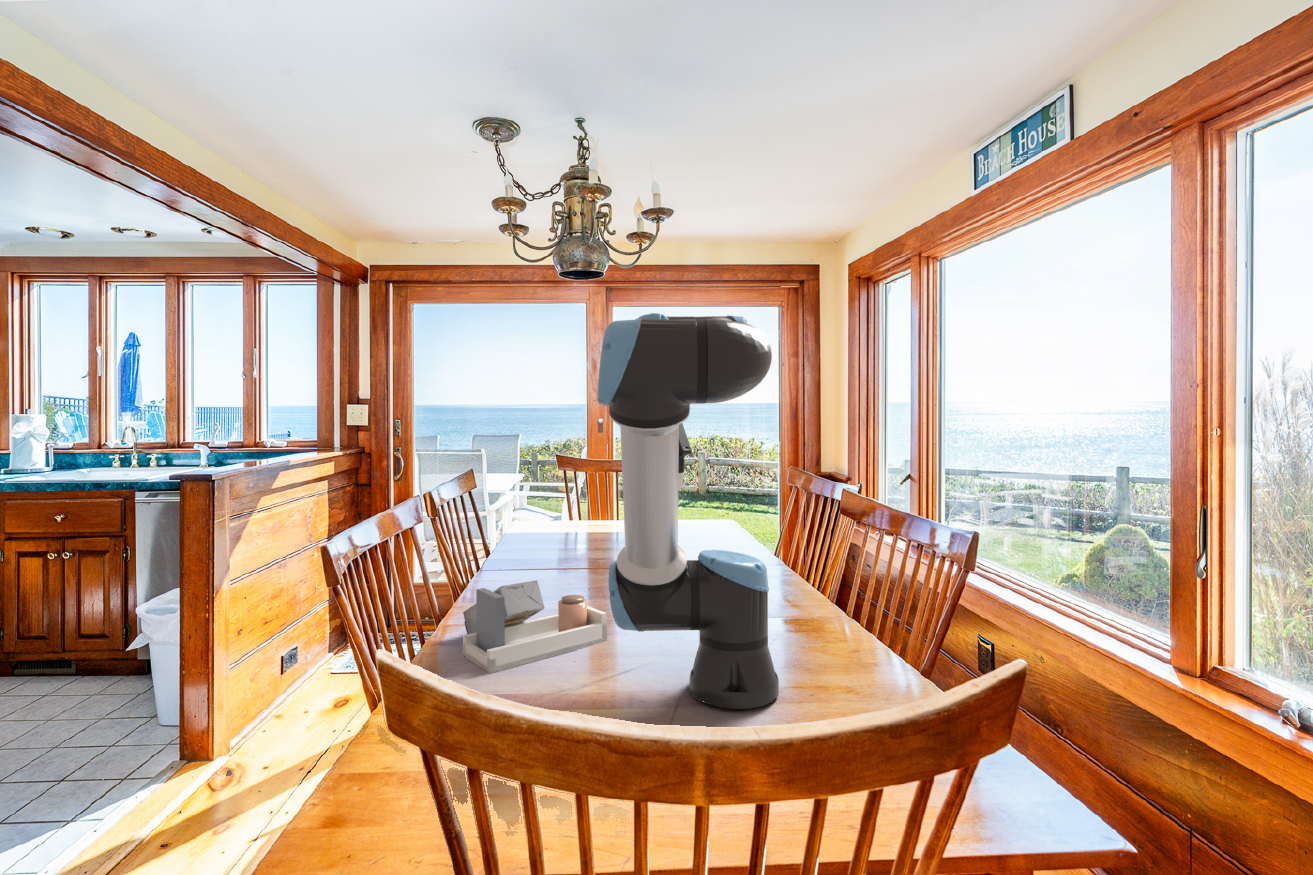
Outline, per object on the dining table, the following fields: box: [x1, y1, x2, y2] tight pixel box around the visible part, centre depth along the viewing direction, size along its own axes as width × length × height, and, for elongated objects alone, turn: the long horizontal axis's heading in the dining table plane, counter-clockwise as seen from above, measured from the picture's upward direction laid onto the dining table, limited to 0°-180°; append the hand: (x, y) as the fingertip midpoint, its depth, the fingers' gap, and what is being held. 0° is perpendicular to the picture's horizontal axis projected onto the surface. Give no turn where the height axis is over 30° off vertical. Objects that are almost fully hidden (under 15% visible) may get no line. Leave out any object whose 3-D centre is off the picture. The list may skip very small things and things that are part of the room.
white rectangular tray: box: [462, 605, 608, 674], centre depth 127 cm, size 12×26×6 cm, turn 130°
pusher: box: [475, 587, 505, 652], centre depth 120 cm, size 9×2×12 cm, turn 40°
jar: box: [557, 594, 588, 632], centre depth 132 cm, size 6×6×8 cm
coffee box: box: [462, 580, 545, 635], centre depth 130 cm, size 9×6×16 cm
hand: (655, 487), depth 135 cm, fingers open, 13 cm apart
